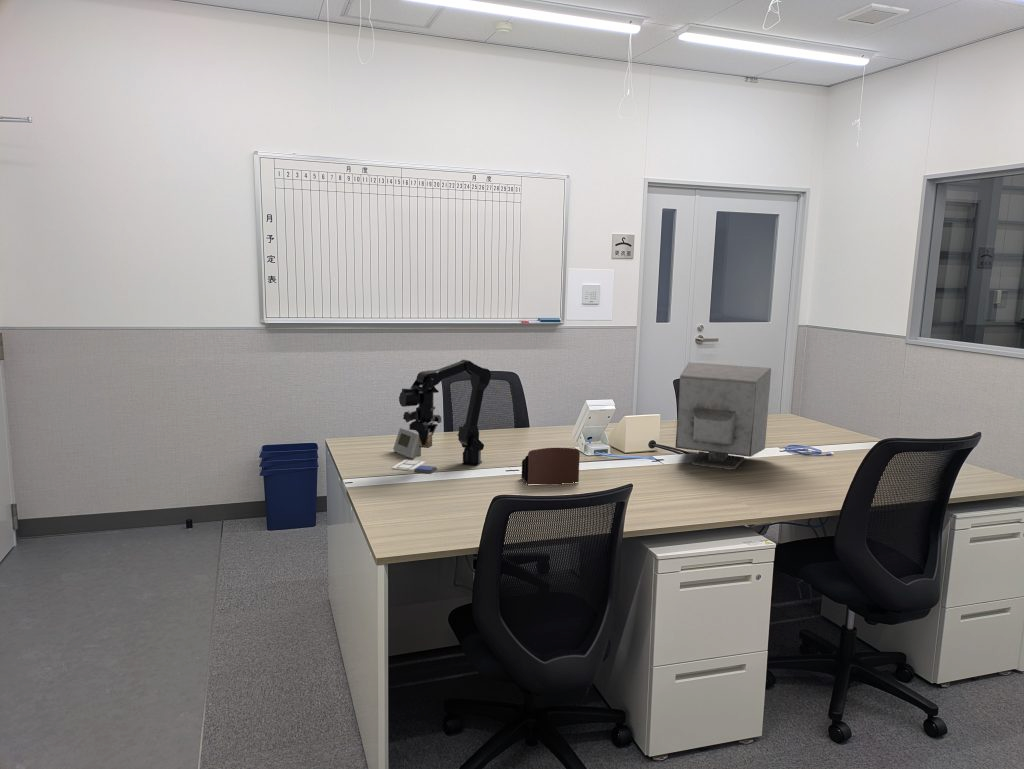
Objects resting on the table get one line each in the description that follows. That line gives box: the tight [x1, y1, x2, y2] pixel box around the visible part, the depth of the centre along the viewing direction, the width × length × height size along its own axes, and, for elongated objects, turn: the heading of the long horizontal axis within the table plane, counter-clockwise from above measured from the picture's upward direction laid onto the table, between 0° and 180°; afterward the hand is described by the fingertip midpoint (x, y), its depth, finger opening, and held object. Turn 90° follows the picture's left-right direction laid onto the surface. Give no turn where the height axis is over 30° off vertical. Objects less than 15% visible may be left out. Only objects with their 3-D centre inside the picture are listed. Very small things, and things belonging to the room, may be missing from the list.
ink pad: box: [414, 464, 438, 475], centre depth 288 cm, size 7×6×1 cm
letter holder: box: [520, 447, 581, 485], centre depth 277 cm, size 10×20×14 cm, turn 103°
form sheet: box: [391, 459, 426, 472], centre depth 295 cm, size 9×13×1 cm
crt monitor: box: [675, 361, 772, 470], centre depth 308 cm, size 35×37×40 cm
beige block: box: [419, 432, 433, 449], centre depth 286 cm, size 4×4×6 cm
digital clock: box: [392, 426, 422, 460], centre depth 312 cm, size 16×9×11 cm, turn 27°
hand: (425, 444), depth 287 cm, fingers closed on beige block, 4 cm apart
